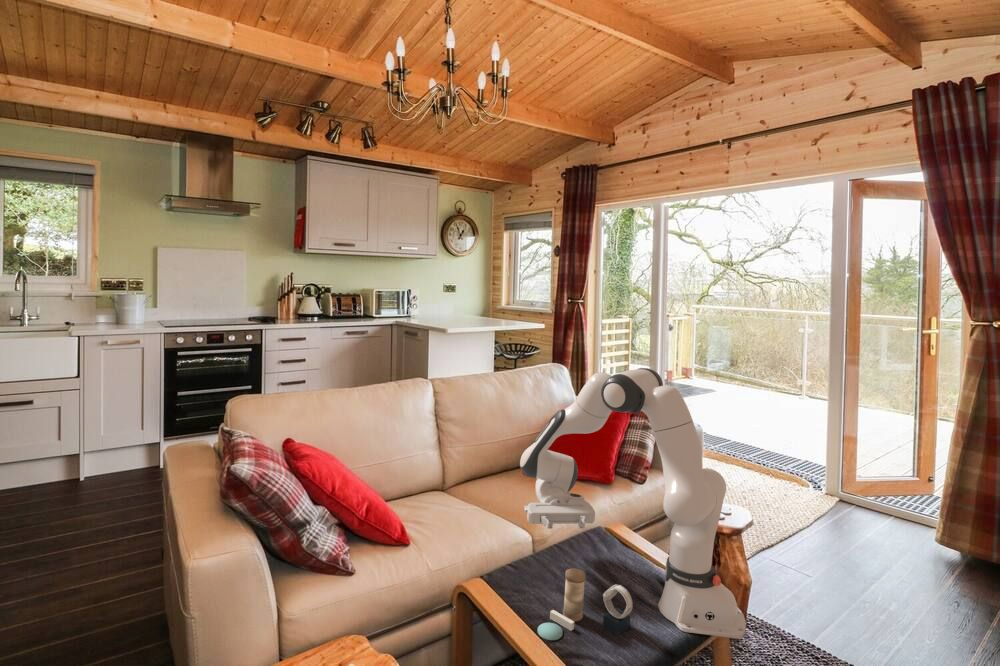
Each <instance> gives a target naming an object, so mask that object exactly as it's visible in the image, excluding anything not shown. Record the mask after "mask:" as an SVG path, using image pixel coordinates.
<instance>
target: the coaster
mask: <svg viewBox="0 0 1000 666" xmlns="http://www.w3.org/2000/svg"><path fill="white" fill-rule="evenodd" d="M537 634H538V635H539V637H541V638H542V639H544V640H546V641H558V640H559V639H561V638H562V637H563V634H564V633H563V629H562V627H561V625H560V626H559V625H558V623H554V622H544V623H541V624H540V625H538V627H537Z"/></svg>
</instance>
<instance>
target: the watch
mask: <svg viewBox="0 0 1000 666" xmlns="http://www.w3.org/2000/svg"><path fill="white" fill-rule="evenodd" d="M618 593H619V594H621V596H623V598H624V601H625V603H626V606H625V609H624V611H623V610H622V609H620V608H619V607H617V608H615V607H614V604H613V601H612V599H613V598H614V597H615V596H616V595H617V594H618ZM602 597H603V602H604V606H605V608H606V610H607V611H608V612H607V613H605V614H604V615H603V623H602V627H603V628H605V629H606V630H608V631H610V632H611V633H613V634H614V635H615V636H617V635H619V634H620V633H622V632H623V631H625V630H627V629H628V628H630V627H631V626H630V625H631V615H630V614H631V612H632V611H633V606H634V605H633V599H632V596H631V594H630V592H629V591H628V589H627V588H625V587H624V586H622V584H617V583H616V584H613V585H612V586H610V587H609V588H608V589H607V590H605V591H604V592H603V594H602Z"/></svg>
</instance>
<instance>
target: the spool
mask: <svg viewBox="0 0 1000 666" xmlns="http://www.w3.org/2000/svg"><path fill="white" fill-rule="evenodd" d="M586 576H587V573H585V571H583V570H582V569H578V568H569V569H566V570H565V576H564V577H565V584H564V598H563V599H564V600H563V601H564V602H563V609H562V615H563V616H565V617H567V618H569V619H570V620H572V621H574V623H579V622H580V621H581V622H582V620H583V619H584V612H583V608H584V595H585V581H586V580H587V579H586Z"/></svg>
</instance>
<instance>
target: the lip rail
mask: <svg viewBox="0 0 1000 666" xmlns="http://www.w3.org/2000/svg"><path fill="white" fill-rule="evenodd" d="M549 620H552V621H554V622H556V624H557V625H558V624H559V625H560V626H562V627H564V628H565V629H567V630H568V631H570V632H571V631H573V630H574V629H575V622H574V621H572V620H570V619H569V618H567V617H565V616H563V613H562V614H561V613H559V612H558V611H557V610H554V609H552V610H550V611H549Z"/></svg>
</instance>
